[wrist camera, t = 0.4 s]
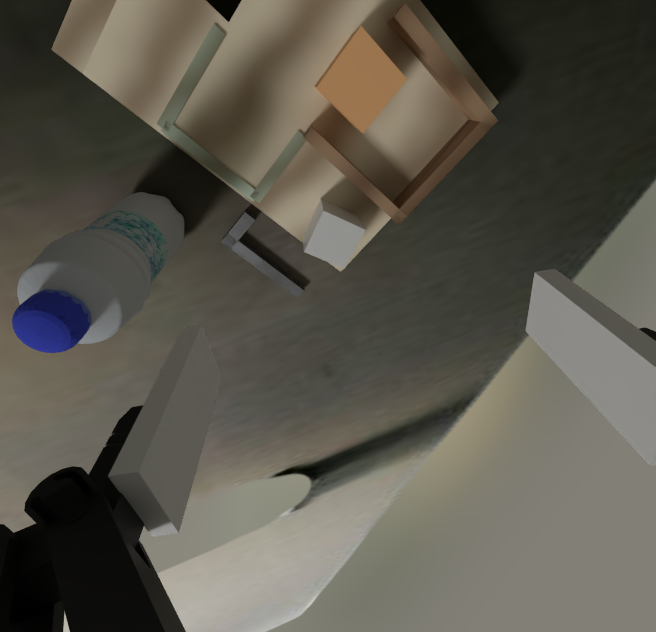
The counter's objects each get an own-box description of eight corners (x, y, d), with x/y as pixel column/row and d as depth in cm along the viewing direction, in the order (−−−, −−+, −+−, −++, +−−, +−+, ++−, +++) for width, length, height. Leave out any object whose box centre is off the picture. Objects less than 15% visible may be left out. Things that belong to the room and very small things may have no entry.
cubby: (302, 134, 32) (303, 138, 29) (396, 8, 28) (405, 2, 25) (392, 216, 36) (398, 224, 34) (484, 117, 32) (497, 120, 30)
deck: (68, 51, 29) (50, 49, 27) (204, -258, 22) (193, -297, 20) (338, 262, 41) (340, 272, 38) (485, 101, 34) (499, 102, 31)
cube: (313, 86, 30) (316, 87, 26) (352, 33, 28) (360, 25, 24) (355, 127, 32) (363, 133, 28) (393, 79, 30) (407, 79, 26)
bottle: (107, 191, 35) (-67, 293, 18) (177, 179, 35) (67, 270, 18) (137, 257, 39) (15, 393, 22) (200, 246, 39) (128, 374, 22)
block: (303, 236, 36) (303, 251, 33) (320, 198, 34) (323, 210, 31) (339, 251, 37) (344, 268, 34) (358, 215, 36) (365, 229, 32)
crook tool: (223, 237, 38) (221, 242, 37) (246, 208, 37) (245, 212, 36) (297, 293, 43) (297, 298, 42) (320, 268, 41) (321, 273, 40)
